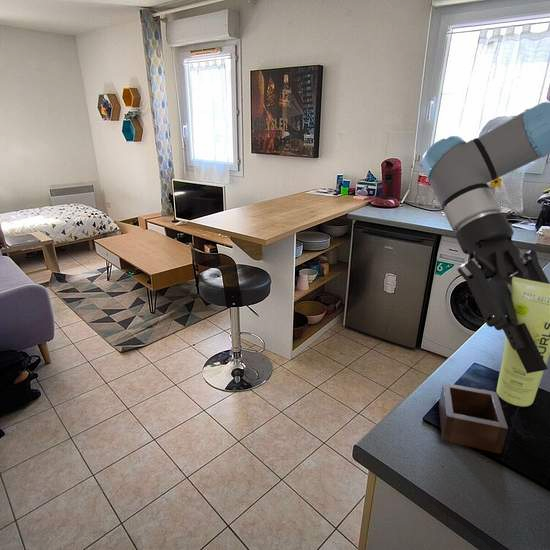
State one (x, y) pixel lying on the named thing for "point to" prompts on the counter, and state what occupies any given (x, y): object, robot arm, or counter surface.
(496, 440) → the frame
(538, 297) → the tube
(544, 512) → the counter surface
